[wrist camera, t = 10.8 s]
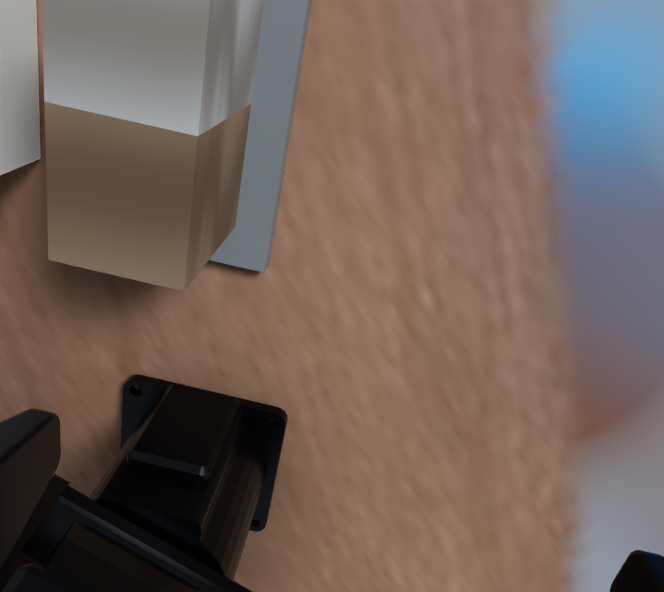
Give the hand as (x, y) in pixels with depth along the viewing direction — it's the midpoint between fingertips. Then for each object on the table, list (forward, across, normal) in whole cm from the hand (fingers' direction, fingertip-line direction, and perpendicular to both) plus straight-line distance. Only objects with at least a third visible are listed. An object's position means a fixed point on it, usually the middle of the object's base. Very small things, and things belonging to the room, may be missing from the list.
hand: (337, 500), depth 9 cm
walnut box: (+11, +6, -3) cm, 13 cm away
